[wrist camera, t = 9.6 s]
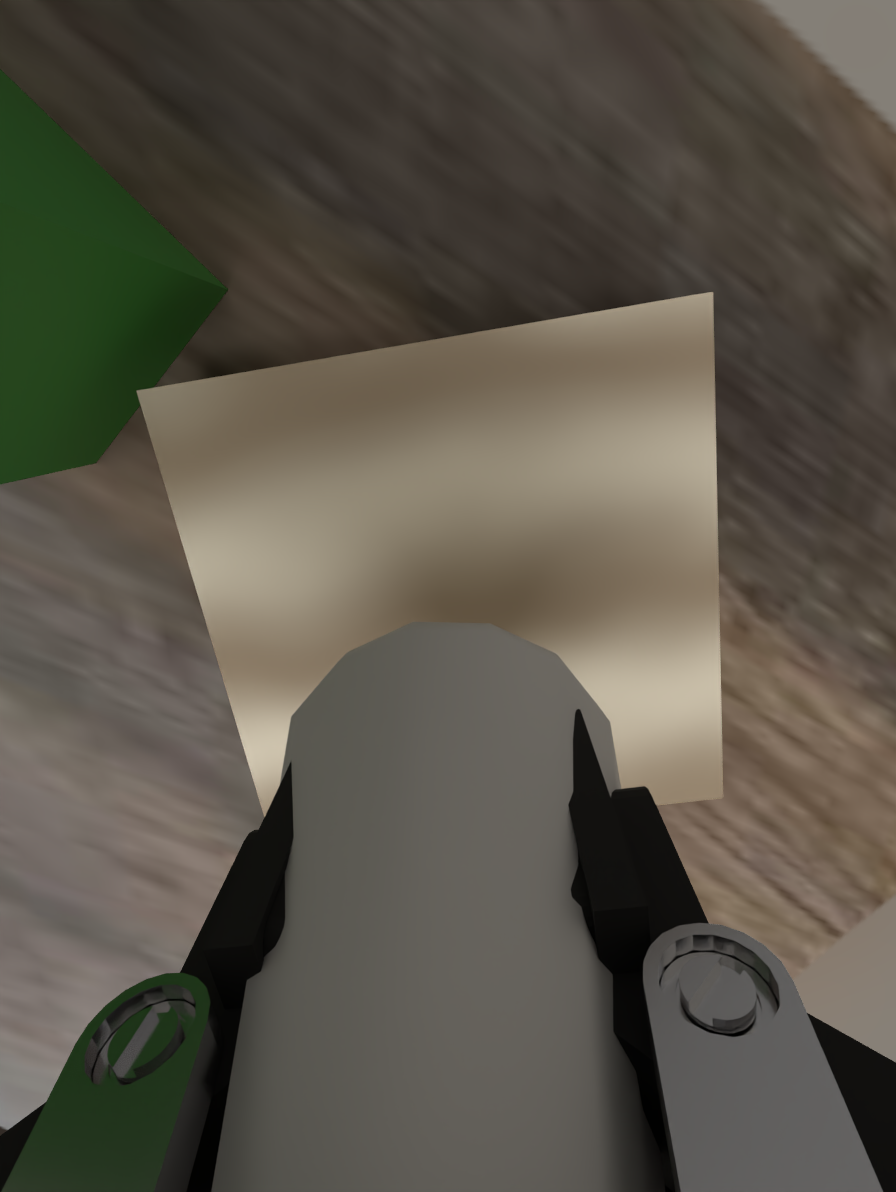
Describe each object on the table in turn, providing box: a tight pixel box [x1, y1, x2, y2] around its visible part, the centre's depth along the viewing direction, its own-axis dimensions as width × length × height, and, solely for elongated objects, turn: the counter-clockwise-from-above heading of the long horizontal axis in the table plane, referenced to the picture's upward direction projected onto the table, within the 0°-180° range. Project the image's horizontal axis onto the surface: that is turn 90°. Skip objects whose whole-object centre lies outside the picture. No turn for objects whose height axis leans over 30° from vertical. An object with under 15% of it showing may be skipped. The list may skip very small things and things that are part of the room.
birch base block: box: [136, 292, 723, 817], centre depth 20 cm, size 15×15×4 cm
